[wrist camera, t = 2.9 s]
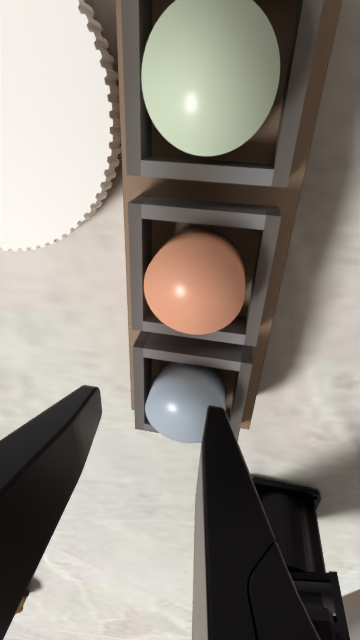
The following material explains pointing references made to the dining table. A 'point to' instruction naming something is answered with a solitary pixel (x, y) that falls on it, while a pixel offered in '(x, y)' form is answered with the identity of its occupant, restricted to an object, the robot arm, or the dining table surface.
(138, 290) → the button panel
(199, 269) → the terracotta button
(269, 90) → the sage button
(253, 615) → the robot arm
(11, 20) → the plastic lid
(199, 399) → the slate-blue button
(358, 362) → the dining table surface
